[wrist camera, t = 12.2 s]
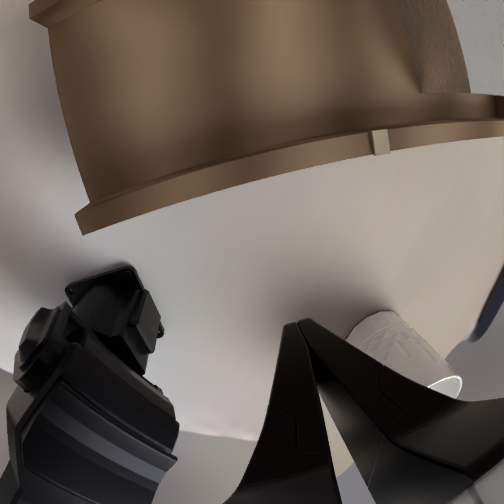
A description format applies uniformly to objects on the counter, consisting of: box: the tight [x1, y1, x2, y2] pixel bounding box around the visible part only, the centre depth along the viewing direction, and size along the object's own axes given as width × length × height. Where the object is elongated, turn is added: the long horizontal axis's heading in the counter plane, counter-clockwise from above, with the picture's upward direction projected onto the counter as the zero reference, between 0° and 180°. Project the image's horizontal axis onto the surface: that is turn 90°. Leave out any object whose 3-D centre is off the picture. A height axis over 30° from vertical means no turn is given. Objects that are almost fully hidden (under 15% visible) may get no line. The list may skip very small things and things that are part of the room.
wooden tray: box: [29, 0, 504, 235], centre depth 11 cm, size 27×13×4 cm, turn 104°
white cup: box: [346, 311, 462, 399], centre depth 22 cm, size 8×8×10 cm
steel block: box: [395, 0, 504, 96], centre depth 9 cm, size 7×7×4 cm
